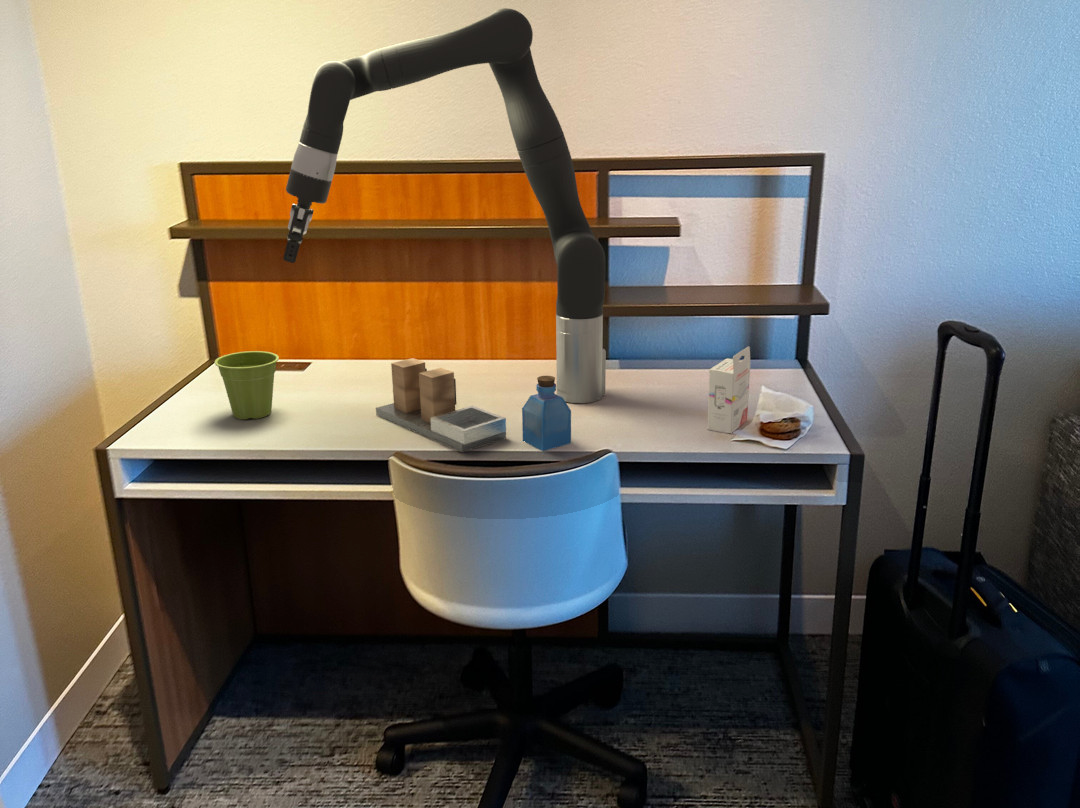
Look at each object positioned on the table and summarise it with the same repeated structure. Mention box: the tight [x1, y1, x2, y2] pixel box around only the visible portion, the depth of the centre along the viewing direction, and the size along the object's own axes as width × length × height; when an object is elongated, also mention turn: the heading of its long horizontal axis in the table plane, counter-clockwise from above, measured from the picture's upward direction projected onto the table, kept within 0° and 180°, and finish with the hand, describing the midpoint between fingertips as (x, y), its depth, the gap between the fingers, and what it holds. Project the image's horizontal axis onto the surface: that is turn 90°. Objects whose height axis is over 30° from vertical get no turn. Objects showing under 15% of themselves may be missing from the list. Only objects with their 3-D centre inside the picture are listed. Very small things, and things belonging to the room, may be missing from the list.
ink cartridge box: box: [706, 345, 751, 434], centre depth 174 cm, size 9×5×15 cm, turn 148°
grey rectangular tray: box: [375, 402, 507, 454], centre depth 177 cm, size 10×27×4 cm, turn 42°
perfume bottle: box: [521, 375, 572, 452], centre depth 168 cm, size 6×6×12 cm
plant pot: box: [214, 350, 280, 420], centre depth 184 cm, size 12×12×11 cm
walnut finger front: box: [419, 367, 458, 423], centre depth 176 cm, size 6×4×9 cm
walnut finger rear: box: [390, 357, 428, 413], centre depth 182 cm, size 6×4×9 cm
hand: (290, 257), depth 177 cm, fingers open, 8 cm apart
